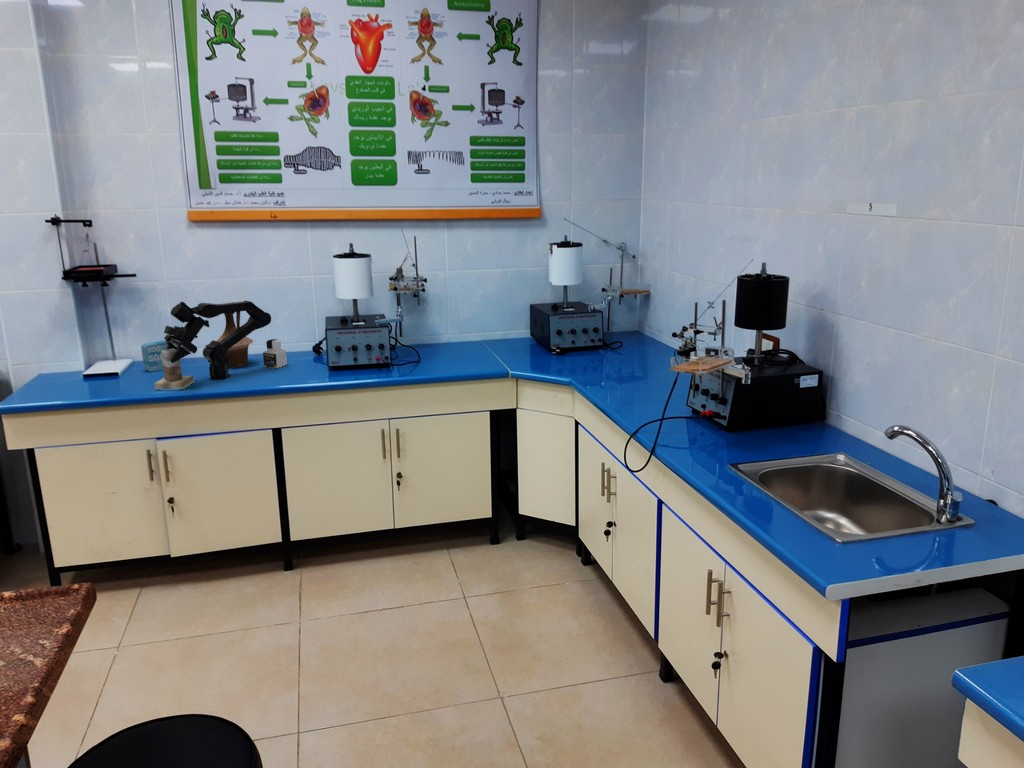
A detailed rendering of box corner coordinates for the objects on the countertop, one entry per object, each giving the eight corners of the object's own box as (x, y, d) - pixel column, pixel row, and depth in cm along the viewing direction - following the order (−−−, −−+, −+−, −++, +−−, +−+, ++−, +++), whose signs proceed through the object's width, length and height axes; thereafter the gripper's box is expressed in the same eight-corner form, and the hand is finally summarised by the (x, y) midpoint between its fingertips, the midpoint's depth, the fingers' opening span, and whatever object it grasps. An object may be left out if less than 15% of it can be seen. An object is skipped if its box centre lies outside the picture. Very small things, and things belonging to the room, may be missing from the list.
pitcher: (228, 359, 354) (221, 299, 346) (262, 360, 351) (256, 300, 343) (207, 369, 337) (200, 306, 329) (244, 370, 334) (237, 307, 327)
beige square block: (194, 382, 316) (193, 375, 315) (182, 390, 305) (181, 383, 304) (167, 383, 316) (166, 375, 315) (155, 390, 305) (154, 383, 305)
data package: (148, 372, 332) (144, 345, 329) (144, 370, 335) (140, 344, 332) (176, 367, 340) (172, 341, 337) (172, 365, 344) (168, 339, 340)
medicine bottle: (263, 367, 339) (261, 341, 335) (274, 363, 345) (271, 337, 342) (277, 369, 336) (274, 342, 333) (287, 365, 343) (285, 338, 339)
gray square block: (177, 377, 313) (173, 348, 310) (182, 379, 310) (178, 350, 306) (165, 379, 310) (160, 350, 306) (170, 382, 306) (165, 352, 303)
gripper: (165, 314, 312) (141, 345, 307) (185, 320, 299) (161, 353, 295) (187, 330, 319) (164, 361, 315) (207, 337, 307) (184, 369, 302)
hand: (167, 360), depth 307 cm, fingers open, 7 cm apart
